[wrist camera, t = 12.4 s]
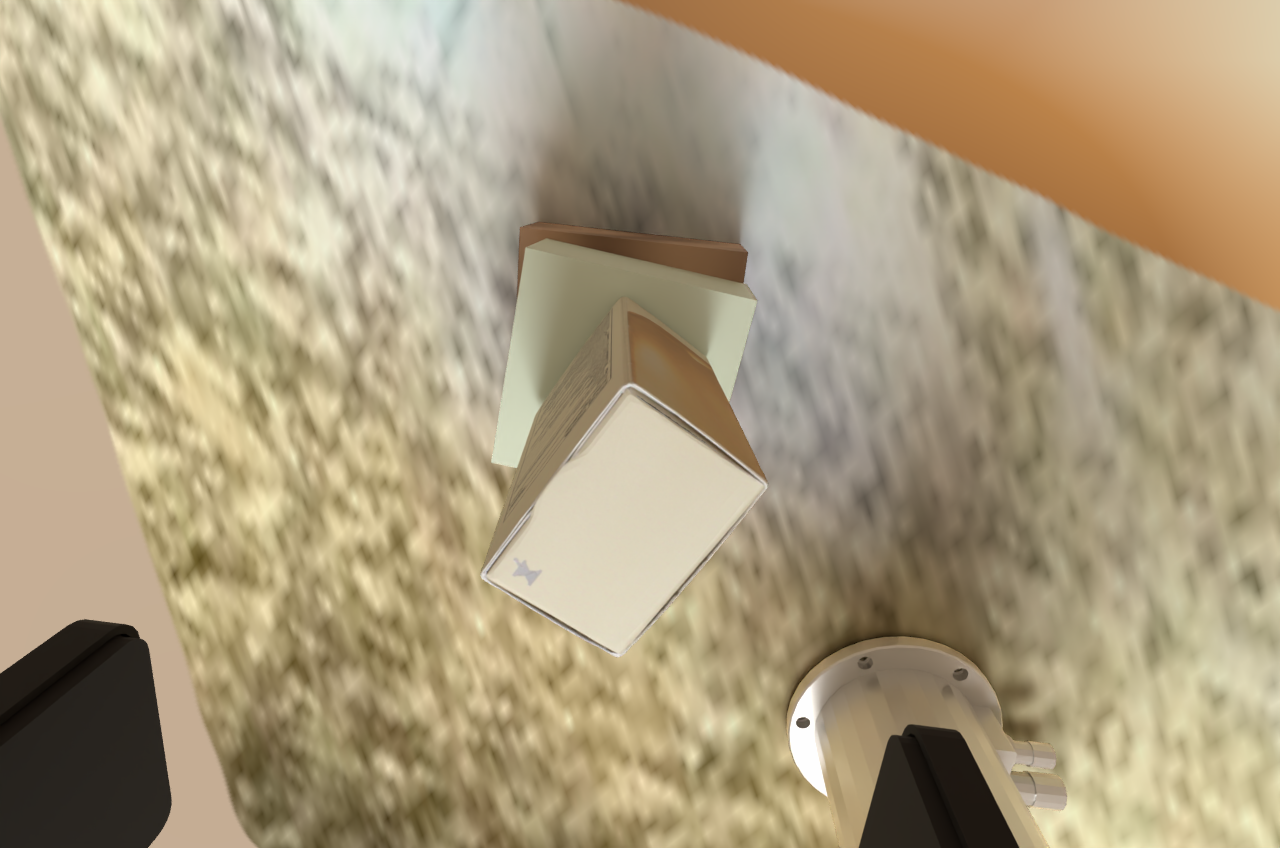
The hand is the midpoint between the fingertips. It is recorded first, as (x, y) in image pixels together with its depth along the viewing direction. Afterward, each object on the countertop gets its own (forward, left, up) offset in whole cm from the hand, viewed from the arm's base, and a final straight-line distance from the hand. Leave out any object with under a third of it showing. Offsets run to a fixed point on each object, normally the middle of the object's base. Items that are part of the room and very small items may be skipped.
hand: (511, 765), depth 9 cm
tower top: (0, +1, -25) cm, 25 cm away
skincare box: (0, +1, -20) cm, 20 cm away
